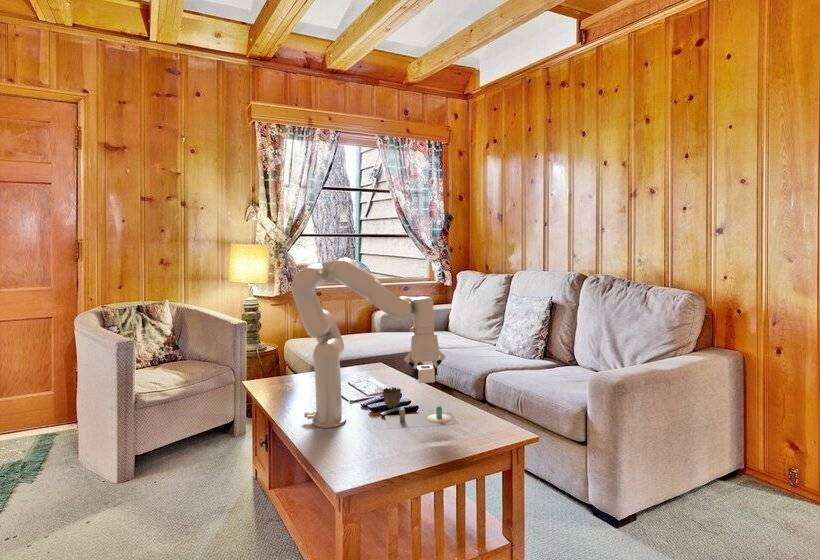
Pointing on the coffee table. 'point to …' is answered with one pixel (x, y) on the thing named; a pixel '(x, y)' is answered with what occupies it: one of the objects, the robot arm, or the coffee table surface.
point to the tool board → (420, 419)
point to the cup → (391, 396)
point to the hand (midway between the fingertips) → (425, 377)
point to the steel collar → (426, 374)
